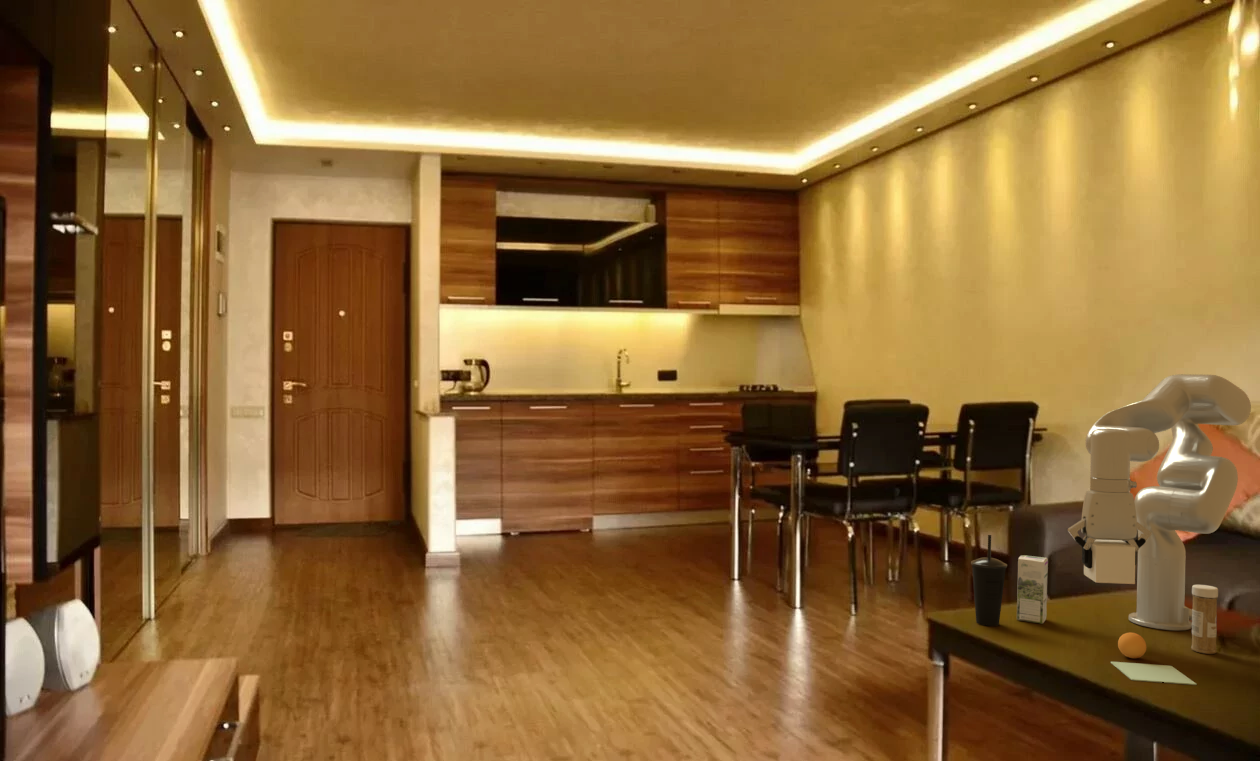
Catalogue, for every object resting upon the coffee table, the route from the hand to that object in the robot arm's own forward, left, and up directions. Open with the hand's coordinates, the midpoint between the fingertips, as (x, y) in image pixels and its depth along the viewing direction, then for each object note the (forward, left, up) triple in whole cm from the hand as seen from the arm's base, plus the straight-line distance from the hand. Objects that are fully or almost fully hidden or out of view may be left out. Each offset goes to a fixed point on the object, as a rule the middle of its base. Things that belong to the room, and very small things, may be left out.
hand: (1108, 567), depth 196 cm
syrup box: (+12, -13, -16) cm, 24 cm away
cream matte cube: (0, 0, -3) cm, 3 cm away
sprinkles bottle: (-17, +5, -16) cm, 24 cm away
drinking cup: (+23, -7, -16) cm, 29 cm away
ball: (0, +14, -13) cm, 19 cm away
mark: (0, +24, -15) cm, 29 cm away
